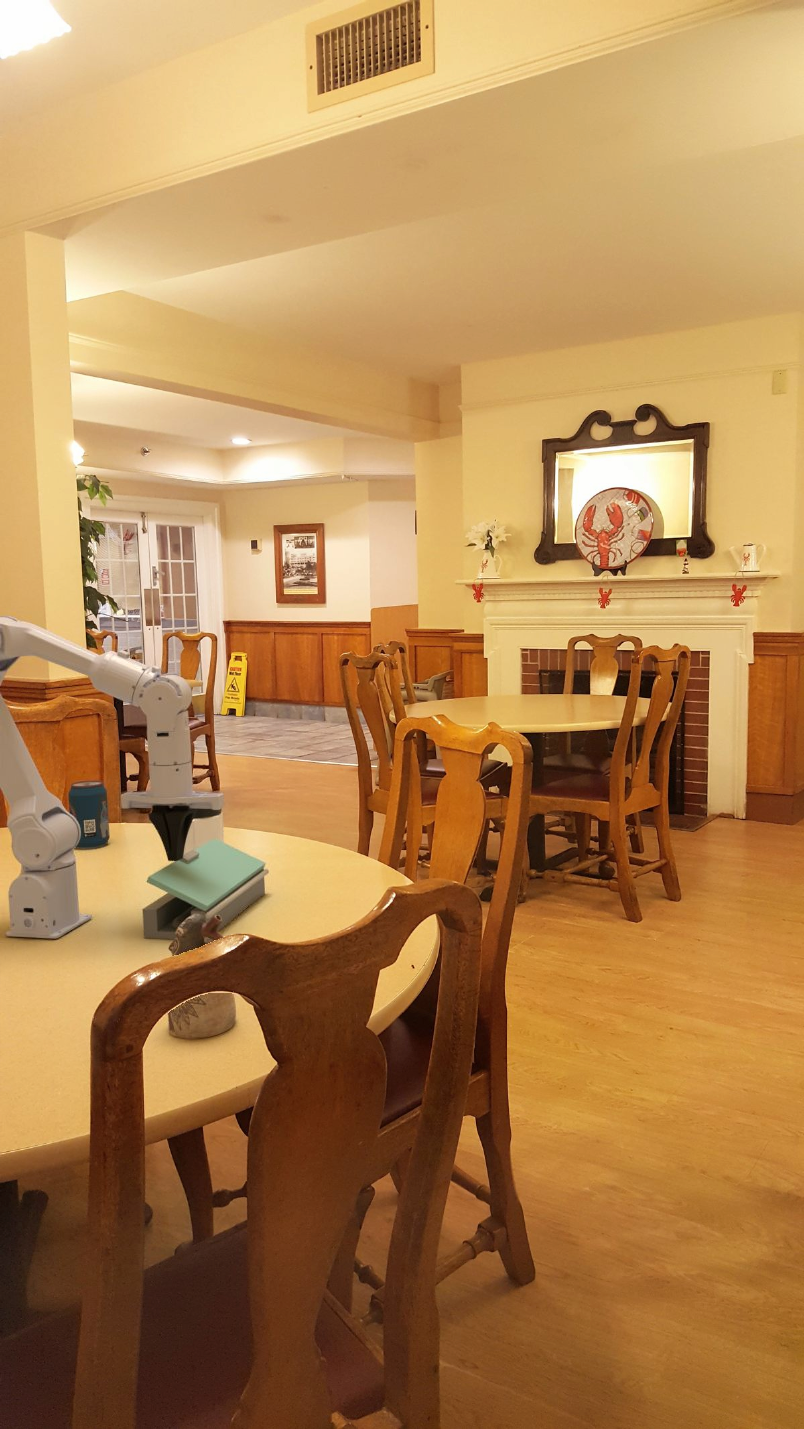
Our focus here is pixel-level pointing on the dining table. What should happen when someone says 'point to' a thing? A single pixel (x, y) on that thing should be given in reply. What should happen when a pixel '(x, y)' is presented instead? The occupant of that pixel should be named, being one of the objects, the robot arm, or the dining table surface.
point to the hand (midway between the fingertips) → (175, 859)
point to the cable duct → (174, 911)
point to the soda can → (90, 813)
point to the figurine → (205, 1010)
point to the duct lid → (207, 874)
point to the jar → (204, 828)
